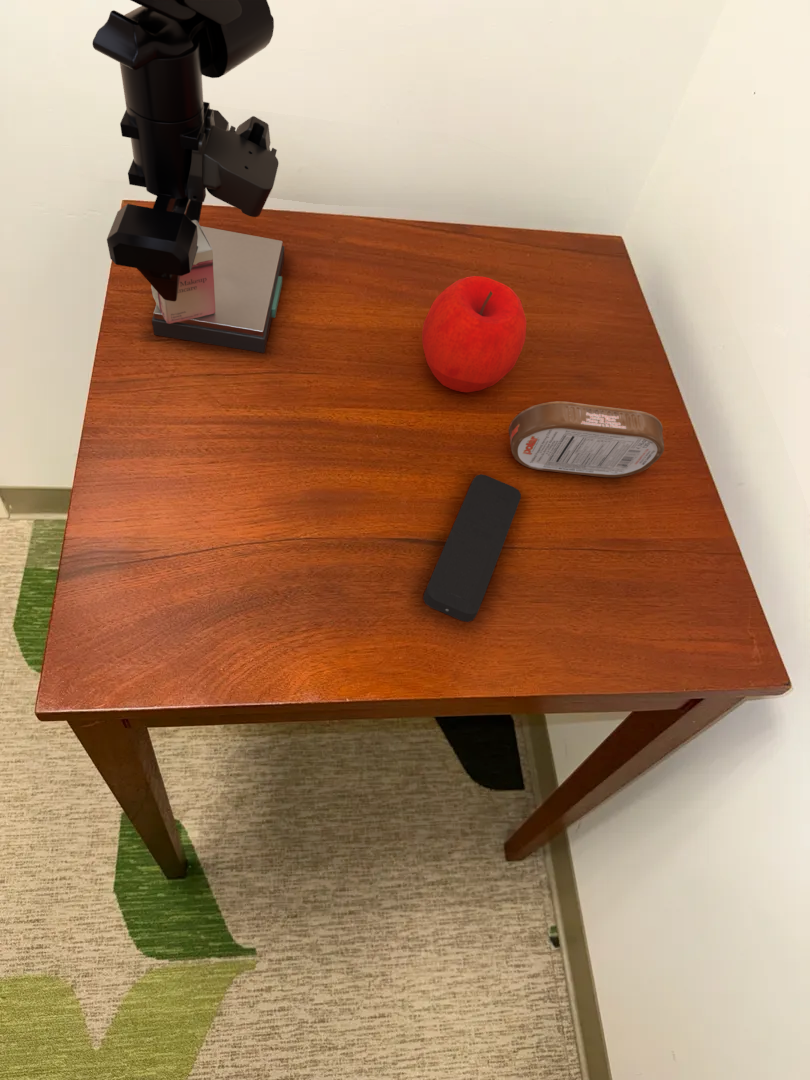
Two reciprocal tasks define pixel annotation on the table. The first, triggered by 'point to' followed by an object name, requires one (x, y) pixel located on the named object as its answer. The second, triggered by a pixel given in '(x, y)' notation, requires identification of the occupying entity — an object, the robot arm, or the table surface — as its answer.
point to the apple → (473, 333)
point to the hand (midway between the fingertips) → (181, 265)
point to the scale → (235, 293)
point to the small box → (192, 287)
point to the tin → (586, 439)
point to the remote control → (472, 548)
